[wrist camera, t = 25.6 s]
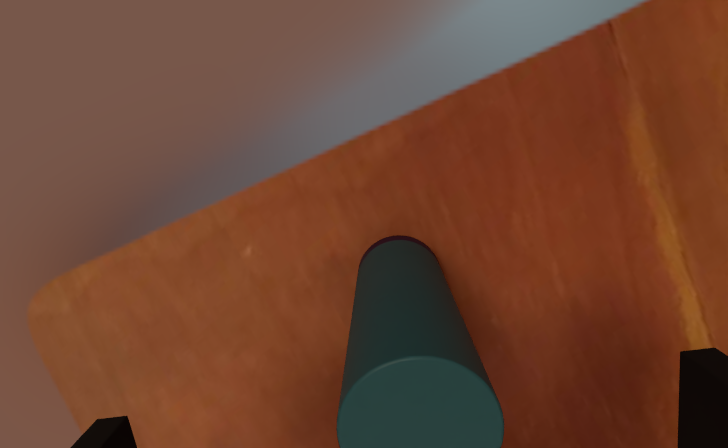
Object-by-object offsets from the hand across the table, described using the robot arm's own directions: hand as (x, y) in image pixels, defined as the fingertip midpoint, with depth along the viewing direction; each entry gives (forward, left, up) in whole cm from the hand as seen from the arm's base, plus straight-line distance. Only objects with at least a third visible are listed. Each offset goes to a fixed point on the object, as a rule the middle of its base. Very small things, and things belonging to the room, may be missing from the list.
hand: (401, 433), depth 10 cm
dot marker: (0, 0, -11) cm, 11 cm away
